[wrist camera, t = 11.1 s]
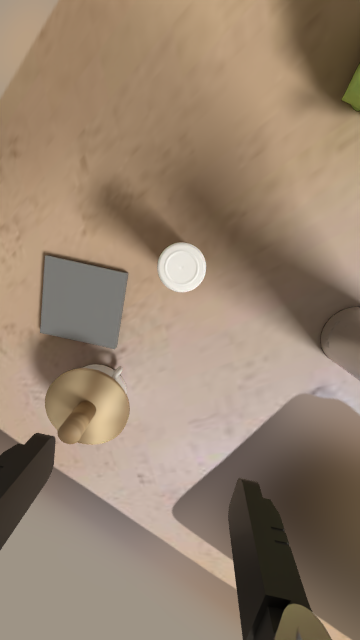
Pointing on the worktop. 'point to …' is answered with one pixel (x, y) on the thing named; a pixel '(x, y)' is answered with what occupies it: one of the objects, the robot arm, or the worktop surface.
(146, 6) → the worktop surface
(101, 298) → the mat
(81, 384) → the lid
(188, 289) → the sprinkles bottle
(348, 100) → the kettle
